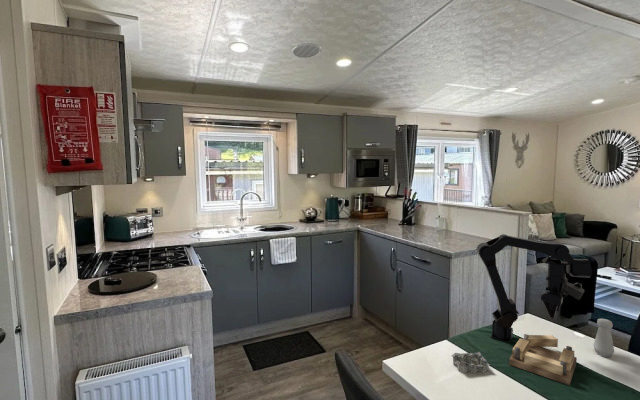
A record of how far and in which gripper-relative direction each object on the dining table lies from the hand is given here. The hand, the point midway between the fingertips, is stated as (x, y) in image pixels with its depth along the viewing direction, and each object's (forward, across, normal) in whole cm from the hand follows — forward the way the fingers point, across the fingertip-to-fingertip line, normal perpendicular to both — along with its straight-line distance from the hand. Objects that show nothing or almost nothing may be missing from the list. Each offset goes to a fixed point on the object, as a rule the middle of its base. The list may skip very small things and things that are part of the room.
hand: (554, 314), depth 127 cm
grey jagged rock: (+13, -38, +18) cm, 44 cm away
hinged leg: (+10, -9, +3) cm, 14 cm away
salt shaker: (+12, +3, -15) cm, 19 cm away
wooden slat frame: (+12, -19, 0) cm, 22 cm away
